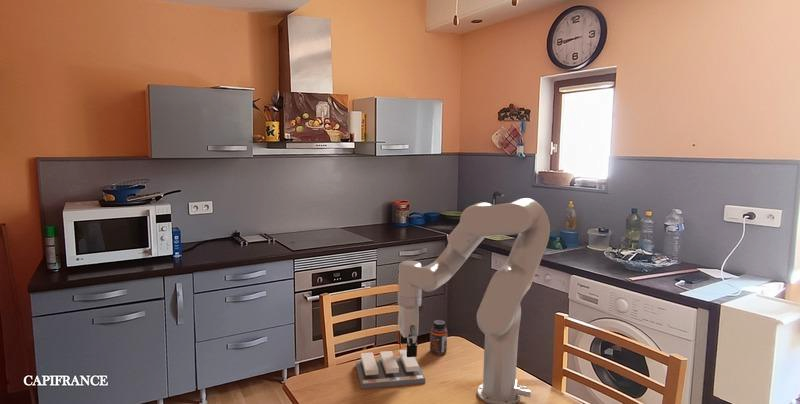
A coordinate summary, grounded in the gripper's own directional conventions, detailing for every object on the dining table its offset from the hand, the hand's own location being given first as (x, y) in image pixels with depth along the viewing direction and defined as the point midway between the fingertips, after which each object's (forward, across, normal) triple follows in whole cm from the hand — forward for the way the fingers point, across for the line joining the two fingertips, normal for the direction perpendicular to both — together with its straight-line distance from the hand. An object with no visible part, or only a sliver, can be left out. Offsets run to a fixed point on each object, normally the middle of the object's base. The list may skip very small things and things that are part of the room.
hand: (408, 349), depth 161 cm
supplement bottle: (+7, -12, +14) cm, 19 cm away
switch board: (+7, +1, -6) cm, 10 cm away
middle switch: (+4, 0, -6) cm, 8 cm away
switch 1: (+4, 0, -13) cm, 14 cm away
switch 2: (+4, 0, 0) cm, 4 cm away
